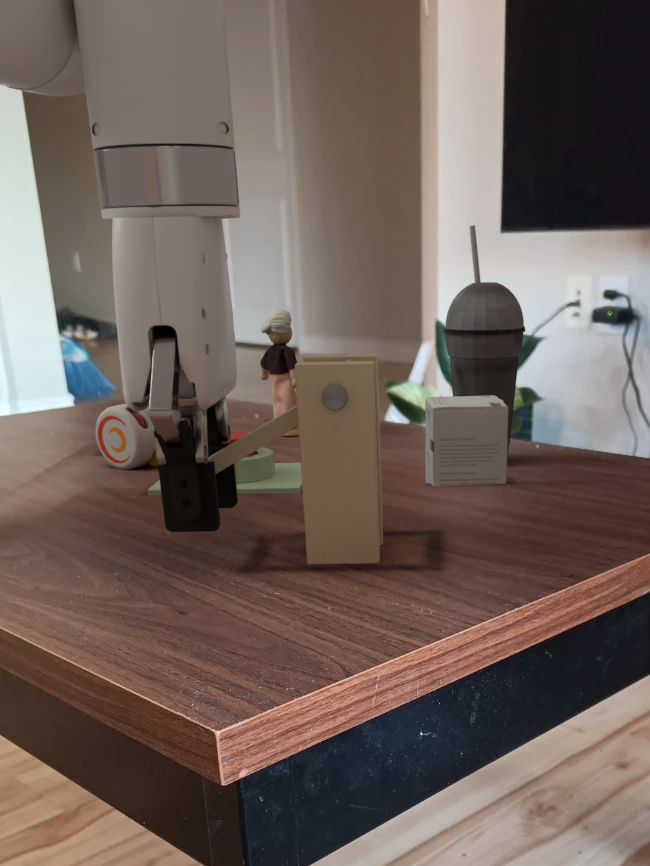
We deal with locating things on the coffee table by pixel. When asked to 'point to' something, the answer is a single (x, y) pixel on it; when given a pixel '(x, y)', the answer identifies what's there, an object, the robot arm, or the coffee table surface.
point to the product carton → (466, 440)
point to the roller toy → (126, 437)
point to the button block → (260, 476)
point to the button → (236, 436)
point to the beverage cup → (485, 339)
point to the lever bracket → (340, 457)
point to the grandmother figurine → (280, 363)
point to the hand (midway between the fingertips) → (203, 515)
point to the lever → (255, 439)
